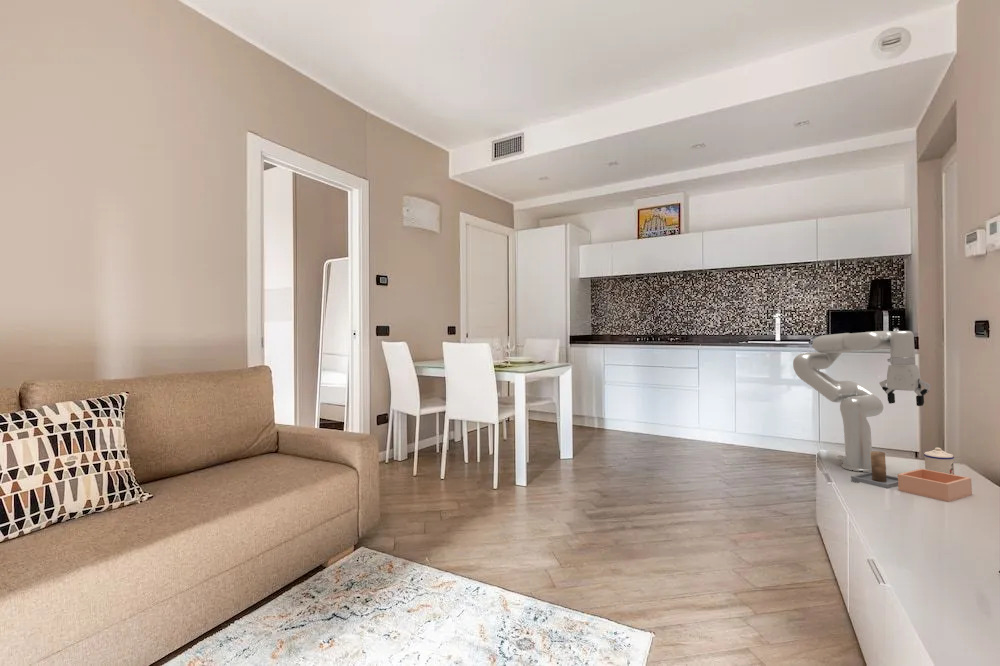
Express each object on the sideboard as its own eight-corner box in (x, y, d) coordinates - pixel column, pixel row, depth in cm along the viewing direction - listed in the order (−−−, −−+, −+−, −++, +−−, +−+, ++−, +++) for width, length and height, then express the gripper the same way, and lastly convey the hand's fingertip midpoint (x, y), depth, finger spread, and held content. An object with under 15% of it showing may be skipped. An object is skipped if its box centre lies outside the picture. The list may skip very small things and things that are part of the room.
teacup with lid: (957, 481, 188) (956, 451, 188) (927, 478, 193) (925, 449, 193) (950, 473, 198) (949, 445, 198) (921, 471, 203) (920, 443, 203)
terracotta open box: (898, 491, 179) (897, 474, 179) (921, 485, 185) (920, 468, 185) (948, 503, 165) (947, 484, 165) (972, 496, 171) (971, 477, 171)
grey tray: (851, 481, 193) (851, 476, 193) (871, 476, 198) (871, 471, 198) (887, 489, 181) (887, 484, 181) (908, 484, 186) (907, 479, 186)
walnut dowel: (869, 479, 191) (867, 452, 191) (876, 478, 193) (874, 450, 193) (882, 482, 187) (880, 454, 187) (889, 481, 188) (887, 453, 189)
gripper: (873, 361, 199) (875, 403, 198) (923, 362, 183) (926, 407, 182) (884, 360, 202) (886, 401, 201) (934, 361, 186) (937, 405, 185)
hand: (905, 404), depth 192 cm, fingers open, 9 cm apart
